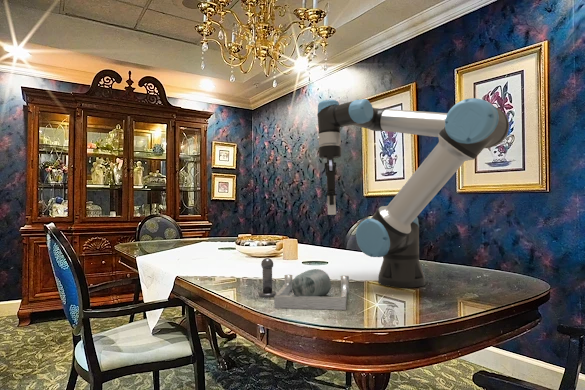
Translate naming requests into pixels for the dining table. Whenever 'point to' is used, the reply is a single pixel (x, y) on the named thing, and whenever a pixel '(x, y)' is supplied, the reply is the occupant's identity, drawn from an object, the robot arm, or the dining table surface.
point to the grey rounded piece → (311, 283)
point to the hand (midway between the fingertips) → (331, 214)
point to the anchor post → (267, 278)
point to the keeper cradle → (311, 298)
